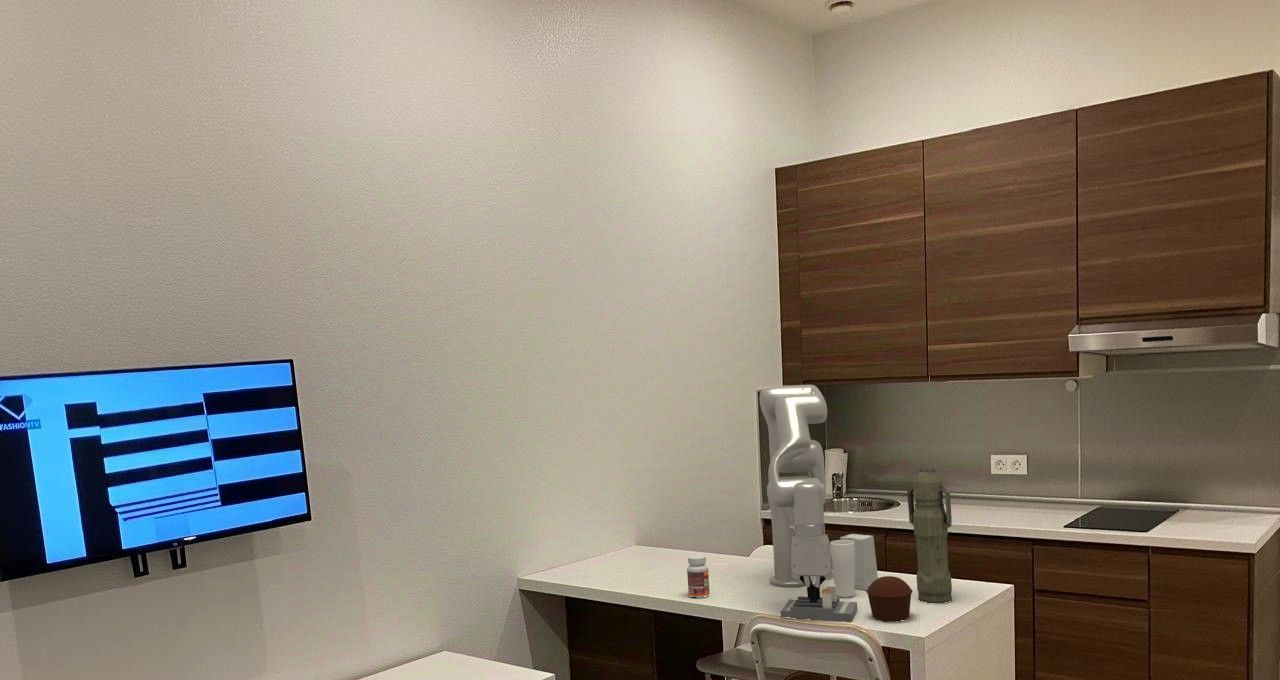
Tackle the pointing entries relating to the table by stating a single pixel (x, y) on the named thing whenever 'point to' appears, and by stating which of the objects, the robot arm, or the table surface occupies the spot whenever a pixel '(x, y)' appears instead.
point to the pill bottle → (697, 576)
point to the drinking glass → (843, 567)
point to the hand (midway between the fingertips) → (814, 601)
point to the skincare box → (863, 560)
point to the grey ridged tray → (820, 609)
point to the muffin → (889, 599)
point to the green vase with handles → (931, 535)
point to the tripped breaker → (826, 598)
